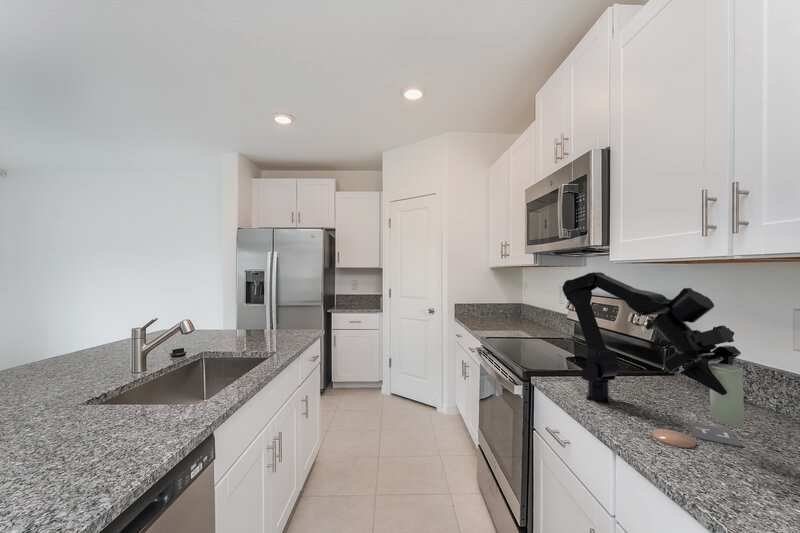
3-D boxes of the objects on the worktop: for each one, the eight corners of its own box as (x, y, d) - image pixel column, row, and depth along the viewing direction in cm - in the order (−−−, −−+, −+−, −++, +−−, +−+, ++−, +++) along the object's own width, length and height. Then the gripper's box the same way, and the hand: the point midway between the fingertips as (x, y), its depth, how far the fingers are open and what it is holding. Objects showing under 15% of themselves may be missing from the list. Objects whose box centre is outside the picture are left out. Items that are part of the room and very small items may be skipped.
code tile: (688, 422, 89) (688, 421, 89) (729, 430, 85) (729, 428, 85) (695, 438, 81) (695, 436, 81) (741, 447, 77) (741, 445, 77)
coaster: (651, 428, 86) (651, 426, 86) (692, 436, 82) (692, 434, 82) (654, 441, 79) (654, 439, 79) (698, 451, 75) (698, 448, 75)
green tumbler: (707, 413, 79) (706, 362, 79) (740, 418, 76) (739, 365, 76) (713, 421, 75) (712, 367, 75) (747, 428, 72) (746, 371, 72)
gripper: (676, 315, 77) (738, 378, 66) (730, 312, 82) (795, 370, 72) (642, 343, 84) (693, 404, 73) (694, 338, 90) (748, 394, 79)
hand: (733, 392), depth 74 cm, fingers closed on green tumbler, 5 cm apart
